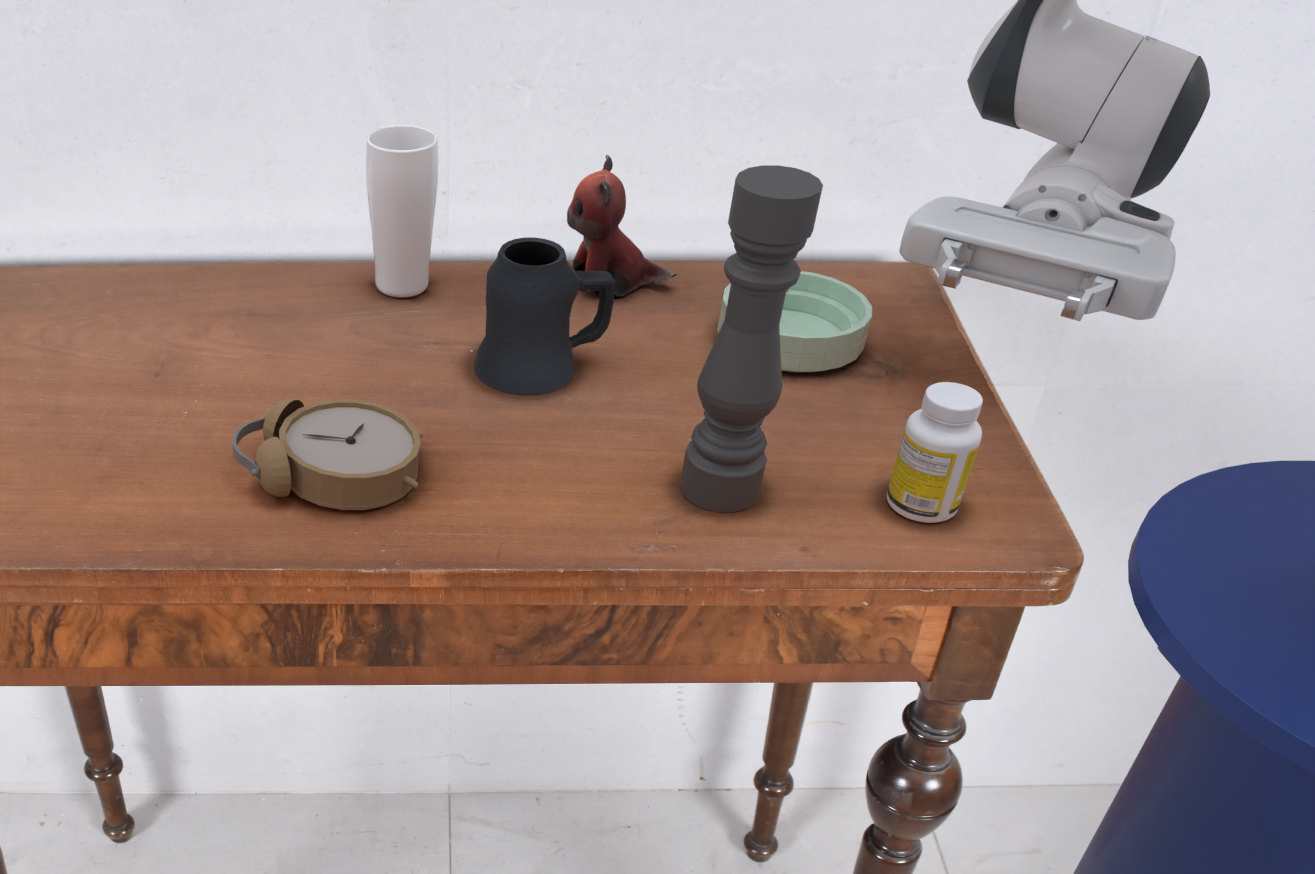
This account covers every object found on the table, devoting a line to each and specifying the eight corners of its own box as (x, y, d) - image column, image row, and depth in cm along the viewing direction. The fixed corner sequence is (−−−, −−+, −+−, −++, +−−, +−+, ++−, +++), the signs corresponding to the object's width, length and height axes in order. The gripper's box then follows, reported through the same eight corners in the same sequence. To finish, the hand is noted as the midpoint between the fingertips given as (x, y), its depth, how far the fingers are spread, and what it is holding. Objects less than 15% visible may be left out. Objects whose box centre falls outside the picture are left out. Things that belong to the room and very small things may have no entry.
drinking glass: (376, 307, 125) (374, 154, 115) (361, 276, 130) (358, 127, 120) (443, 299, 126) (447, 147, 117) (426, 269, 131) (428, 121, 122)
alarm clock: (421, 485, 97) (224, 450, 96) (410, 536, 100) (219, 502, 99) (427, 406, 106) (246, 373, 105) (416, 455, 109) (240, 423, 108)
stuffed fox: (680, 304, 125) (698, 184, 118) (564, 304, 126) (575, 184, 118) (668, 269, 131) (685, 153, 123) (558, 269, 131) (568, 152, 123)
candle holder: (759, 472, 104) (825, 167, 87) (759, 517, 99) (829, 204, 83) (681, 463, 105) (732, 160, 88) (678, 507, 100) (731, 196, 84)
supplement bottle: (934, 480, 103) (969, 372, 96) (970, 520, 99) (1009, 410, 92) (871, 489, 102) (902, 380, 96) (906, 529, 98) (941, 419, 92)
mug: (485, 398, 112) (491, 279, 105) (464, 347, 119) (468, 232, 112) (618, 387, 114) (633, 268, 106) (590, 337, 121) (602, 222, 113)
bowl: (881, 331, 121) (891, 292, 119) (833, 392, 113) (843, 352, 110) (749, 295, 127) (756, 257, 124) (693, 351, 119) (700, 311, 116)
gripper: (938, 165, 111) (886, 222, 102) (1197, 222, 102) (1165, 290, 94) (918, 234, 115) (867, 295, 106) (1165, 295, 106) (1132, 366, 98)
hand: (1009, 293), depth 100 cm, fingers open, 8 cm apart
